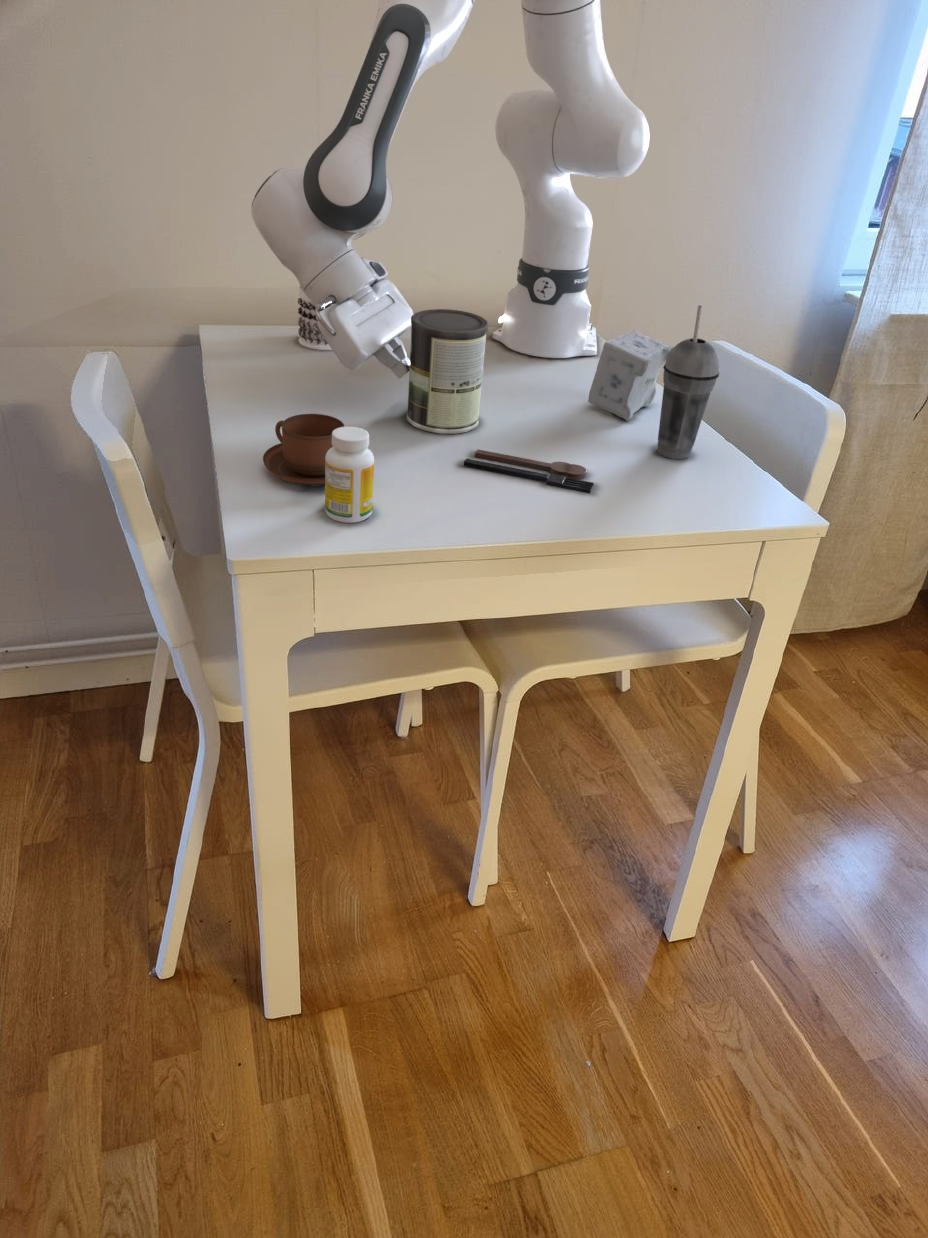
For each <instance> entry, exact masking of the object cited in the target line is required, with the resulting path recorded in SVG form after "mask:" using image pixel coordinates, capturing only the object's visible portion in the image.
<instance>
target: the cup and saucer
mask: <svg viewBox="0 0 928 1238" xmlns="http://www.w3.org/2000/svg"><path fill="white" fill-rule="evenodd" d="M274 427H275V429H274V430H275V436H276V438H277V440H278V441H279V442H280V443H277V444H274V445H273V446H271V447H269V448H268V449H267V450H266V451H265V452H264V454H263V456H262V461H263V465H264V467H265V468H266V470H267V471H268V472H269V473H271V474H272V475H273V476H275V477H276V478H278V479H280V480H283V481H285V482H288V483H292V484H294V485H295V484H296V485H302V486H325V457H326V453H327V452H328V450H329V449H330V448H332V447H333V446H332V432H333V431H334V430H335V429H337V428H340V427H345V424H344V422H343V421H342V420H340V419H339V418H337V417H334V416H332V415H327V414H322V413H301V414H295V415H292V416H289V417H287V418H285V419H284V420H282V419H281V420H279V421H277V422H276V424H275V426H274Z"/></svg>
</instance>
